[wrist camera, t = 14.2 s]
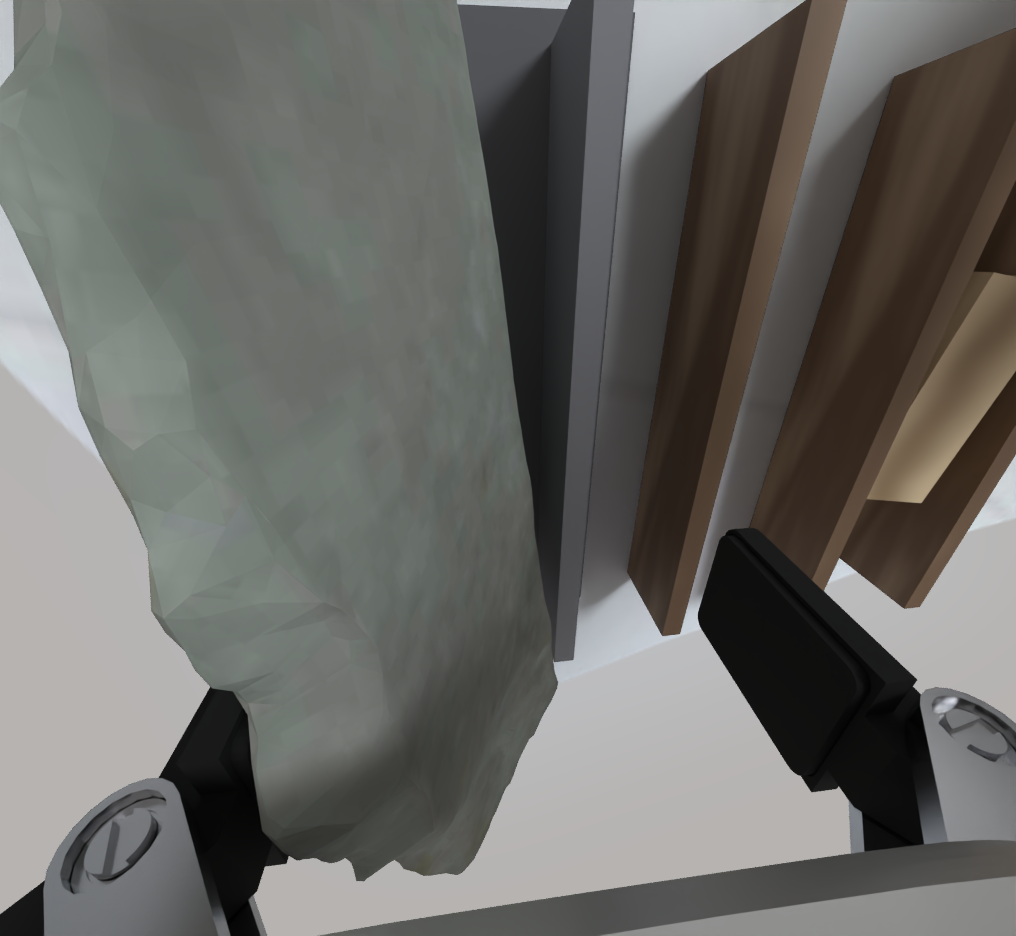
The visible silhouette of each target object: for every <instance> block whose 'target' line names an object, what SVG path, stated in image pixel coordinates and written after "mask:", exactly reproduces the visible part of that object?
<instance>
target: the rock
mask: <svg viewBox="0 0 1016 936" xmlns="http://www.w3.org/2000/svg"><path fill="white" fill-rule="evenodd" d="M13 9H14V71H13V72H12V73H11V74H10V76H9V77H8V78H7V79H6V81H5V82H4V83H3V85H2V86H1V87H0V204H1V206H2V208H3V210H4V212H5V214H6V216H7V218H8V219H9V221H10V223H11V225H12V227H13V229H14V231H15V233H16V236H17V238H18V240H19V242H20V244H21V246H22V249H23V251H24V253H25V255H26V257H27V259H28V261H29V264H30V266H31V268H32V270H33V272H34V274H35V276H36V279H37V281H38V283H39V285H40V287H41V289H42V292H43V294H44V296H45V299H46V301H47V303H48V306H49V308H50V310H51V312H52V315H53V317H54V319H55V322H56V324H57V326H58V328H59V331H60V333H61V335H62V338H63V340H64V342H65V344H66V347H67V349H68V351H69V357H70V362H71V368H72V374H73V379H74V385H75V390H76V396H77V402H78V407H79V410H80V412H81V414H82V416H83V419H84V421H85V423H86V425H87V428H88V430H89V432H90V434H91V437H92V439H93V441H94V443H95V445H96V448H97V450H98V452H99V454H100V457H101V459H102V460H103V462H104V464H105V466H106V468H107V469H108V471H109V473H110V475H111V476H112V478H113V480H114V482H115V484H116V486H117V487H118V489H119V491H120V493H121V495H122V496H123V498H124V500H125V502H126V504H127V505H128V507H129V509H130V511H131V513H132V515H133V516H134V519H135V521H136V524H137V526H138V528H139V530H140V533H141V535H142V538H143V540H144V542H145V545H146V547H147V550H148V561H149V577H150V593H151V610H152V612H153V614H154V616H155V617H156V619H157V620H158V622H159V623H160V624H161V626H162V628H163V629H164V631H165V633H167V634H168V635H169V636H170V637H171V638H172V639H173V640H174V641H175V642H176V643H177V644H178V645H179V646H180V647H181V648H182V649H183V650H184V651H185V652H186V654H187V656H188V657H189V659H190V661H191V663H192V665H193V667H194V669H195V671H196V672H197V673H198V674H199V675H200V676H201V677H202V678H203V679H204V680H205V681H206V682H207V683H208V684H209V686H210V687H211V688H213V689H220V690H227V691H233V692H234V694H235V696H236V697H237V699H238V700H239V702H240V703H241V705H242V707H243V708H244V710H245V711H246V713H247V714H248V723H249V736H250V749H251V762H252V770H253V776H254V782H255V788H256V795H257V801H258V807H259V814H260V820H261V826H262V831H263V832H264V833H265V834H266V836H267V837H268V838H269V839H270V840H271V841H272V842H273V843H274V844H275V845H276V846H277V847H278V848H279V849H280V850H281V851H282V852H283V853H285V854H287V855H288V856H290V857H292V858H294V859H296V860H302V859H310V858H317V859H319V860H321V861H324V862H328V863H334V862H338V861H340V860H342V859H344V858H346V859H348V860H349V861H350V862H351V863H352V866H353V869H354V872H355V877H356V881H365V880H366V879H367V878H368V877H370V876H371V875H373V874H374V873H375V872H377V871H378V870H380V869H381V868H382V867H384V866H385V865H387V864H388V863H390V862H391V861H393V860H396V861H397V862H399V863H400V864H401V866H402V867H403V868H404V869H406V870H410V871H415V872H417V873H419V874H421V875H423V876H427V875H428V876H429V875H436V874H443V873H449V874H455V875H458V874H460V873H462V872H463V871H464V870H465V869H466V868H467V867H468V866H469V864H470V863H471V862H472V861H473V860H474V858H475V856H476V854H477V852H478V850H479V848H480V846H481V844H482V842H483V840H484V838H485V835H486V833H487V831H488V829H489V826H490V823H491V821H492V818H493V816H494V814H495V812H496V810H497V808H498V805H499V803H500V800H501V798H502V795H503V793H504V791H505V789H506V787H507V786H508V785H509V783H510V782H511V779H512V777H513V775H514V772H515V769H516V766H517V763H518V761H519V758H520V756H521V754H522V752H523V750H524V748H525V746H526V744H527V742H528V740H529V739H530V738H531V737H532V736H533V735H534V733H535V731H536V729H537V727H538V725H539V722H540V720H541V718H542V716H543V714H544V712H545V710H546V709H547V707H548V705H549V704H550V702H551V700H552V698H553V696H554V694H555V691H556V689H557V685H558V681H557V678H556V675H555V672H554V664H553V653H552V649H551V643H552V630H551V621H550V617H549V613H548V610H547V606H546V603H545V599H544V592H543V585H542V579H541V572H540V564H539V556H538V550H537V545H536V539H535V530H534V511H533V497H532V487H531V480H530V475H529V471H528V467H527V463H526V456H525V450H524V444H523V438H522V430H521V425H520V419H519V414H518V407H517V399H516V392H515V386H514V379H513V369H512V360H511V352H510V343H509V335H508V327H507V319H506V311H505V303H504V294H503V285H502V278H501V271H500V263H499V254H498V246H497V241H496V236H495V230H494V224H493V217H492V210H491V203H490V197H489V190H488V183H487V177H486V171H485V165H484V159H483V153H482V148H481V142H480V136H479V131H478V124H477V118H476V111H475V106H474V100H473V95H472V89H471V83H470V78H469V71H468V63H467V56H466V49H465V43H464V38H463V32H462V27H461V21H460V16H459V10H458V5H457V0H13Z"/></svg>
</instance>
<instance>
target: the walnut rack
mask: <svg viewBox="0 0 1016 936" xmlns="http://www.w3.org/2000/svg"><path fill="white" fill-rule="evenodd" d="M846 3H847V0H806V1H804V2H803V3H801V4H800V5H799V6H797V7H796V8H795V9H793V10H792V11H790V12H789V13H788V14H786V15H785V16H783V17H782V18H781V19H779V20H778V21H776V22H775V23H774V24H772V25H771V26H770V27H768V28H767V29H765V30H764V31H763V32H761V33H760V34H758V35H757V36H756V37H754V38H753V39H751V40H750V41H749V42H747V43H746V44H745V45H743V46H742V47H740V48H739V49H738V50H736V51H735V52H733V53H732V54H731V55H729V56H728V57H726V58H725V59H724V60H722V61H721V62H720V63H718V64H717V65H715V66H714V67H713V68H711V69H710V70H708V73H707V79H706V85H705V91H704V98H703V104H702V110H701V116H700V123H699V129H698V135H697V141H696V147H695V154H694V160H693V166H692V172H691V179H690V185H689V191H688V197H687V203H686V210H685V216H684V222H683V228H682V235H681V241H680V247H679V253H678V259H677V266H676V272H675V278H674V284H673V291H672V297H671V303H670V309H669V315H668V322H667V328H666V334H665V340H664V347H663V353H662V359H661V365H660V371H659V378H658V384H657V390H656V396H655V403H654V409H653V415H652V421H651V427H650V434H649V440H648V446H647V452H646V459H645V465H644V471H643V477H642V483H641V490H640V496H639V502H638V508H637V515H636V521H635V527H634V533H633V539H632V546H631V552H630V558H629V564H628V571H627V573H628V574H629V576H630V578H631V580H632V582H633V584H634V585H635V587H636V589H637V591H638V593H639V595H640V596H641V598H642V600H643V602H644V604H645V605H646V607H647V609H648V611H649V613H650V615H651V616H652V618H653V620H654V622H655V624H656V626H657V627H658V629H659V631H660V633H661V635H662V636H667V635H676V634H680V632H681V628H682V624H683V620H684V617H685V613H686V609H687V605H688V602H689V598H690V594H691V590H692V586H693V583H694V579H695V575H696V571H697V567H698V564H699V560H700V556H701V552H702V549H703V545H704V541H705V537H706V533H707V530H708V526H709V522H710V518H711V514H712V511H713V507H714V503H715V499H716V495H717V492H718V488H719V484H720V480H721V477H722V473H723V469H724V465H725V461H726V458H727V454H728V450H729V446H730V442H731V439H732V435H733V431H734V427H735V423H736V420H737V416H738V412H739V408H740V405H741V401H742V397H743V393H744V389H745V386H746V382H747V378H748V374H749V370H750V367H751V363H752V359H753V355H754V352H755V348H756V344H757V340H758V336H759V333H760V329H761V325H762V321H763V317H764V314H765V310H766V306H767V302H768V298H769V295H770V291H771V287H772V283H773V280H774V276H775V272H776V268H777V264H778V261H779V257H780V253H781V249H782V245H783V242H784V238H785V234H786V230H787V226H788V223H789V219H790V215H791V211H792V208H793V204H794V200H795V196H796V192H797V189H798V185H799V181H800V177H801V173H802V170H803V166H804V162H805V158H806V155H807V151H808V147H809V143H810V139H811V136H812V132H813V128H814V124H815V120H816V117H817V113H818V109H819V105H820V101H821V98H822V94H823V90H824V86H825V83H826V79H827V75H828V71H829V67H830V64H831V60H832V56H833V52H834V48H835V45H836V41H837V37H838V33H839V29H840V26H841V22H842V18H843V14H844V11H845V7H846ZM973 272H995V273H999V274H1004V275H1016V28H1014V29H1012V30H1009V31H1007V32H1004V33H1002V34H999V35H997V36H994V37H992V38H990V39H987V40H985V41H982V42H980V43H977V44H975V45H972V46H970V47H967V48H965V49H962V50H960V51H957V52H955V53H952V54H950V55H947V56H945V57H942V58H940V59H937V60H935V61H932V62H930V63H927V64H925V65H922V66H920V67H917V68H915V69H912V70H910V71H907V72H905V73H903V74H900V75H898V76H895V77H894V80H893V83H892V86H891V89H890V92H889V96H888V99H887V102H886V105H885V108H884V111H883V114H882V117H881V120H880V124H879V127H878V130H877V133H876V136H875V139H874V142H873V145H872V148H871V152H870V155H869V158H868V161H867V164H866V167H865V170H864V173H863V176H862V179H861V183H860V186H859V189H858V192H857V195H856V198H855V201H854V204H853V207H852V211H851V214H850V217H849V220H848V223H847V226H846V229H845V232H844V235H843V238H842V242H841V245H840V248H839V251H838V254H837V257H836V260H835V263H834V266H833V270H832V273H831V276H830V279H829V282H828V285H827V288H826V291H825V294H824V297H823V301H822V304H821V307H820V310H819V313H818V316H817V319H816V322H815V325H814V329H813V332H812V335H811V338H810V341H809V344H808V347H807V350H806V353H805V356H804V360H803V363H802V366H801V369H800V372H799V375H798V378H797V381H796V384H795V388H794V391H793V394H792V397H791V400H790V403H789V406H788V409H787V412H786V415H785V419H784V422H783V425H782V428H781V431H780V434H779V437H778V440H777V443H776V447H775V450H774V453H773V456H772V459H771V462H770V465H769V468H768V471H767V474H766V478H765V481H764V484H763V487H762V490H761V493H760V496H759V499H758V502H757V506H756V509H755V512H754V515H753V518H752V521H751V524H750V527H749V528H755V529H758V530H759V531H760V532H761V533H762V534H764V535H765V536H766V537H767V538H768V539H769V540H770V541H771V542H772V543H773V544H774V545H775V546H776V547H777V548H778V549H779V550H780V551H782V552H783V553H784V554H785V555H786V556H787V557H788V558H789V559H790V560H791V561H792V562H793V563H794V564H795V565H796V566H797V567H798V568H799V569H801V570H802V571H803V572H804V573H805V574H806V575H807V576H808V577H809V578H810V579H811V580H812V581H813V582H814V583H815V584H816V585H817V586H819V587H820V588H821V589H822V590H823V591H824V589H825V587H826V585H827V583H828V581H829V578H830V576H831V574H832V572H833V570H834V568H835V566H836V564H837V561H838V559H839V558H840V559H841V560H843V561H844V562H845V563H847V564H848V565H849V566H850V567H852V568H853V569H854V570H855V571H857V572H858V573H859V574H861V575H862V576H863V577H865V578H866V579H867V580H868V581H870V582H871V583H872V584H873V585H875V586H876V587H877V588H879V589H880V590H881V591H882V592H883V593H885V594H886V595H887V596H889V597H890V598H891V599H892V600H894V601H895V602H896V603H898V604H899V605H900V606H901V607H903V608H904V609H905V608H914V607H920V606H921V604H922V602H923V601H924V599H925V598H926V596H927V594H928V593H929V591H930V590H931V588H932V586H933V585H934V583H935V582H936V580H937V579H938V577H939V575H940V574H941V572H942V570H943V569H944V567H945V566H946V564H947V563H948V561H949V560H950V558H951V556H952V555H953V553H954V552H955V550H956V548H957V547H958V545H959V544H960V542H961V540H962V539H963V537H964V536H965V534H966V533H967V531H968V529H969V528H970V526H971V525H972V523H973V522H974V520H975V518H976V517H977V515H978V514H979V512H980V510H981V509H982V507H983V506H984V504H985V503H986V501H987V499H988V498H989V496H990V495H991V493H992V491H993V490H994V488H995V487H996V485H997V483H998V482H999V480H1000V479H1001V477H1002V476H1003V474H1004V472H1005V471H1006V469H1007V468H1008V466H1009V464H1010V463H1011V461H1012V460H1013V458H1014V457H1015V455H1016V371H1015V373H1014V374H1013V376H1012V377H1011V378H1010V380H1009V381H1008V383H1007V384H1006V385H1005V387H1004V388H1003V390H1002V391H1001V392H1000V394H999V395H998V397H997V398H996V399H995V401H994V402H993V404H992V405H991V406H990V408H989V409H988V411H987V412H986V413H985V415H984V416H983V418H982V419H981V420H980V422H979V423H978V425H977V426H976V427H975V429H974V430H973V432H972V433H971V434H970V436H969V437H968V439H967V440H966V441H965V443H964V444H963V446H962V447H961V448H960V450H959V451H958V453H957V454H956V455H955V457H954V458H953V460H952V461H951V462H950V464H949V465H948V467H947V468H946V469H945V471H944V472H943V474H942V475H941V476H940V478H939V479H938V481H937V482H936V483H935V485H934V486H933V488H932V489H931V490H930V492H929V493H928V495H927V496H926V497H925V499H924V500H923V502H922V503H912V502H899V501H886V500H872V499H867V497H868V495H869V493H870V491H871V489H872V487H873V484H874V482H875V480H876V478H877V476H878V474H879V472H880V469H881V467H882V465H883V463H884V461H885V459H886V457H887V454H888V452H889V450H890V448H891V446H892V444H893V442H894V440H895V437H896V435H897V433H898V431H899V429H900V427H901V425H902V422H903V420H904V418H905V416H906V414H907V412H908V410H909V407H910V405H911V403H912V401H913V399H914V397H915V395H916V392H917V390H918V388H919V386H920V384H921V382H922V380H923V378H924V375H925V373H926V371H927V369H928V367H929V365H930V363H931V360H932V358H933V356H934V354H935V352H936V350H937V348H938V345H939V343H940V341H941V339H942V337H943V335H944V333H945V330H946V328H947V326H948V324H949V322H950V320H951V318H952V316H953V313H954V311H955V309H956V307H957V305H958V303H959V301H960V298H961V296H962V294H963V292H964V290H965V288H966V286H967V283H968V281H969V279H970V277H971V275H972V273H973Z"/></svg>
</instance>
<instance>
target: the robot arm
mask: <svg viewBox="0 0 1016 936" xmlns="http://www.w3.org/2000/svg"><path fill="white" fill-rule="evenodd" d="M698 621H699V625H700V627H701V629H702V631H703V632H704V634H705V635H706V637H707V638H708V640H709V641H710V643H711V645H712V646H713V648H714V649H715V651H716V653H717V654H718V656H719V657H720V659H721V661H722V662H723V664H724V665H725V667H726V668H727V670H728V672H729V673H730V675H731V676H732V678H733V680H734V681H735V683H736V684H737V686H738V687H739V689H740V691H741V692H742V694H743V695H744V697H745V698H746V700H747V702H748V703H749V705H750V706H751V708H752V710H753V711H754V713H755V714H756V716H757V717H758V719H759V720H760V722H761V724H762V725H763V727H764V728H765V730H766V731H767V733H768V735H769V736H770V738H771V739H772V741H773V743H774V744H775V746H776V747H777V749H778V751H779V752H780V754H781V755H782V757H783V758H784V760H785V762H786V763H787V765H788V766H789V767H790V769H791V770H792V771H793V772H794V773H796V774H797V775H800V776H801V777H802V778H803V780H804V781H805V783H806V784H807V786H808V788H809V789H810V791H811V792H817V791H825V790H832V789H837V788H838V786H839V787H840V788H841V790H842V791H843V792H844V794H845V795H846V797H847V798H848V800H849V819H850V840H851V854H845V855H838V856H831V857H824V858H817V859H810V860H804V861H796V862H789V863H782V864H777V865H776V864H775V865H769V866H762V867H755V868H748V869H741V870H734V871H727V872H721V873H714V874H708V875H701V876H694V877H687V878H680V879H674V880H668V881H661V882H654V883H647V884H641V885H634V886H627V887H621V888H614V889H608V890H601V891H594V892H587V893H581V894H574V895H568V896H561V897H554V898H548V899H541V900H535V901H529V902H522V903H516V904H509V905H503V906H496V907H490V908H485V909H477V910H471V911H465V912H458V913H452V914H445V915H439V916H433V917H426V918H420V919H413V920H407V921H400V922H394V923H388V924H382V925H377V926H371V927H365V928H360V929H354V930H348V931H343V932H338V933H332V934H327V935H320V936H1016V723H1014V722H1013V721H1012V720H1011V719H1009V718H1008V717H1007V716H1006V715H1004V714H1003V713H1001V712H1000V711H998V710H997V709H995V708H994V707H992V706H990V705H989V704H987V703H985V702H983V701H981V700H979V699H977V698H975V697H973V696H971V695H968V694H966V693H963V692H959V691H956V690H953V689H948V688H938V687H936V688H931V689H927V690H925V691H924V692H923V693H922V694H920V693H919V692H918V691H917V690H916V689H915V688H914V687H913V685H914V684H915V682H916V681H917V679H916V678H915V677H914V676H913V675H912V674H911V673H910V672H908V671H907V670H906V669H905V668H904V667H903V666H902V665H901V664H900V663H899V662H898V661H897V660H895V658H894V657H893V656H891V654H889V653H888V652H887V651H886V650H885V649H884V648H883V647H882V646H881V645H880V644H879V643H878V642H876V640H875V639H874V638H873V637H871V636H870V635H869V634H868V633H867V632H866V631H865V630H864V629H863V628H862V627H861V626H860V625H859V624H858V623H856V622H855V621H854V620H853V619H852V618H851V617H850V616H849V615H848V614H847V613H846V612H845V611H844V610H843V609H842V608H841V607H840V606H839V605H838V604H836V603H835V602H834V601H833V600H832V599H831V598H830V597H829V596H828V595H827V594H826V593H825V592H824V591H823V590H822V589H821V588H820V587H819V586H817V585H816V584H815V583H814V582H813V581H812V580H811V579H810V578H809V577H808V576H807V575H806V574H805V573H804V572H803V571H802V570H801V569H799V568H798V567H797V566H796V565H795V564H794V563H793V562H792V561H791V560H790V559H789V558H788V557H787V556H786V555H785V554H784V553H783V552H782V551H780V550H779V549H778V548H777V547H776V546H775V545H774V544H773V543H772V542H771V541H770V540H769V539H768V538H767V537H766V536H765V535H764V534H762V533H761V532H760V531H759V530H758V529H755V528H744V529H732V530H729V531H728V532H727V533H726V535H725V536H723V537H721V539H720V541H719V544H718V547H717V551H716V554H715V558H714V561H713V564H712V568H711V571H710V574H709V578H708V581H707V585H706V588H705V591H704V595H703V598H702V601H701V605H700V608H699V612H698ZM287 860H288V855H287V854H285V853H283V852H282V851H281V850H280V849H279V848H278V847H277V846H276V845H275V844H274V843H273V842H272V841H271V840H270V839H269V838H268V837H267V836H266V834H265V833H264V832H263V831H262V826H261V820H260V814H259V807H258V801H257V795H256V788H255V782H254V776H253V770H252V762H251V749H250V736H249V723H248V714H247V713H246V711H245V710H244V708H243V707H242V705H241V703H240V702H239V700H238V699H237V697H236V696H235V694H234V692H233V691H227V690H220V689H213V688H211V687H210V689H209V690H208V692H207V694H206V696H205V697H204V699H203V701H202V703H201V704H200V706H199V708H198V710H197V712H196V713H195V715H194V717H193V718H192V720H191V722H190V724H189V725H188V727H187V729H186V731H185V733H184V734H183V736H182V738H181V740H180V741H179V743H178V745H177V747H176V748H175V750H174V752H173V754H172V755H171V757H170V759H169V761H168V762H167V764H166V766H165V768H164V769H163V771H162V773H161V775H160V776H159V778H152V779H145V780H142V781H139V782H136V783H132V784H130V785H128V786H126V787H124V788H122V789H120V790H118V791H117V792H115V793H113V794H111V795H110V796H108V797H107V798H106V799H104V800H103V801H102V802H100V803H99V804H98V805H97V806H95V807H94V808H93V809H91V810H90V811H89V812H88V813H87V814H86V815H85V816H84V817H83V818H82V819H81V820H80V821H79V822H78V823H77V824H76V825H75V826H74V827H73V828H72V830H71V831H70V832H69V834H68V835H67V836H66V838H65V839H64V841H63V842H62V843H61V845H60V846H59V847H58V849H57V851H56V853H55V855H54V857H53V859H52V861H51V863H50V865H49V867H48V869H47V873H46V878H45V881H43V882H42V883H41V884H40V885H38V886H37V887H36V888H34V889H33V890H32V891H30V892H29V893H28V894H26V895H25V896H24V897H23V898H21V899H20V900H19V901H17V902H16V903H15V904H13V905H12V906H11V907H9V908H8V909H7V910H6V911H4V912H3V913H1V914H0V936H267V934H266V931H265V928H264V925H263V922H262V919H261V916H260V913H259V910H258V908H257V905H256V902H255V899H254V896H253V895H254V894H255V892H257V889H258V886H259V883H260V880H261V877H262V874H263V871H264V867H265V866H272V865H280V864H286V863H287Z"/></svg>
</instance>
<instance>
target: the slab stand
mask: <svg viewBox="0 0 1016 936" xmlns="http://www.w3.org/2000/svg"><path fill="white" fill-rule="evenodd" d="M457 5H458V4H457ZM633 7H634V0H571V2H570V5H569V7H568V9H546V8H524V7H502V6H480V5H458V10H459V16H460V21H461V27H462V32H463V38H464V43H465V49H466V56H467V63H468V71H469V78H470V83H471V89H472V95H473V100H474V106H475V111H476V118H477V124H478V131H479V136H480V142H481V148H482V153H483V159H484V165H485V171H486V177H487V183H488V190H489V197H490V203H491V210H492V217H493V224H494V230H495V236H496V241H497V246H498V254H499V263H500V271H501V278H502V285H503V294H504V303H505V311H506V319H507V327H508V335H509V343H510V352H511V360H512V369H513V379H514V386H515V392H516V399H517V407H518V414H519V419H520V425H521V430H522V438H523V444H524V450H525V456H526V463H527V467H528V471H529V475H530V480H531V487H532V497H533V511H534V530H535V539H536V545H537V550H538V556H539V564H540V572H541V579H542V585H543V592H544V599H545V603H546V606H547V610H548V613H549V617H550V621H551V630H552V643H551V649H552V653H553V658H554V662H560V661H568V660H573V658H574V647H575V636H576V626H577V615H578V604H579V597H580V594H581V583H582V573H583V562H584V551H585V541H586V530H587V519H588V509H589V498H590V487H591V477H592V466H593V455H594V445H595V434H596V423H597V413H598V402H599V391H600V381H601V370H602V359H603V349H604V338H605V327H606V317H607V306H608V295H609V285H610V274H611V263H612V253H613V242H614V231H615V221H616V210H617V199H618V189H619V178H620V167H621V157H622V146H623V135H624V125H625V114H626V103H627V93H628V82H629V72H630V61H631V50H632V40H633V29H634V18H635V12H633Z"/></svg>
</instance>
